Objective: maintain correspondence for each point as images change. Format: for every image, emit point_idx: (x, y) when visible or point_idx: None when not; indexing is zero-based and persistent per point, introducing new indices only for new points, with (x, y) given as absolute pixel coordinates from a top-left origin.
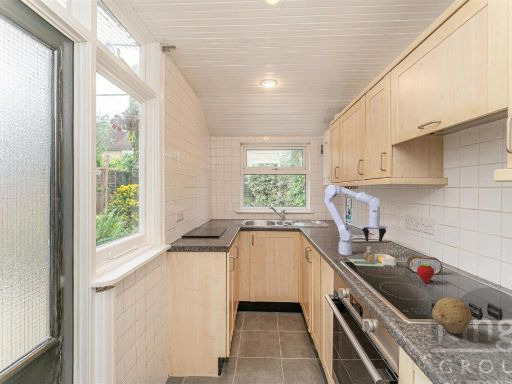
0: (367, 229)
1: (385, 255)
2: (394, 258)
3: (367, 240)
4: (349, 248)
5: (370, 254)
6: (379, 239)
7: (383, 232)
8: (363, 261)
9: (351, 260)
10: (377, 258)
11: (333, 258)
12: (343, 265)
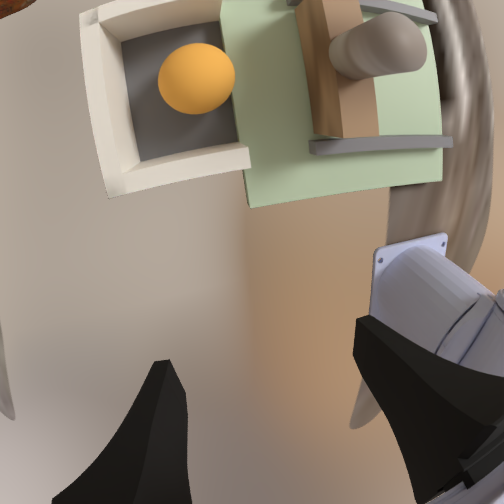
0: (474, 458)
1: (139, 167)
2: (88, 26)
3: (374, 321)
4: (437, 277)
5: (342, 30)
6: (181, 406)
7: (104, 492)
8: (379, 4)
9: (432, 89)
10: (224, 147)
11: (481, 180)
12: (458, 32)
